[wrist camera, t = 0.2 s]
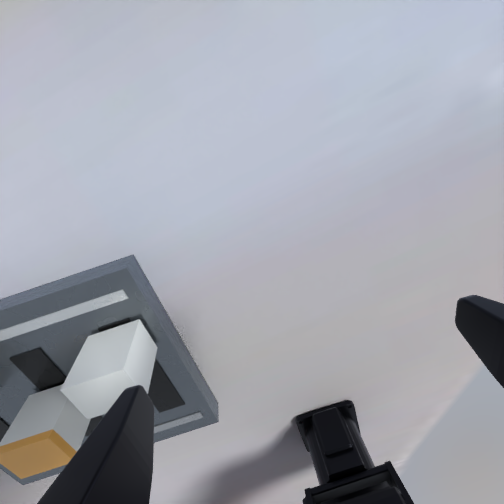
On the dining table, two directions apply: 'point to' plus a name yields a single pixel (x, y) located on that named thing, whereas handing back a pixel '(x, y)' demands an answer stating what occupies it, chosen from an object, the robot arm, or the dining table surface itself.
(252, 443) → the dining table surface
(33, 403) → the breaker
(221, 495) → the dining table surface
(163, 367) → the panel
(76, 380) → the block
